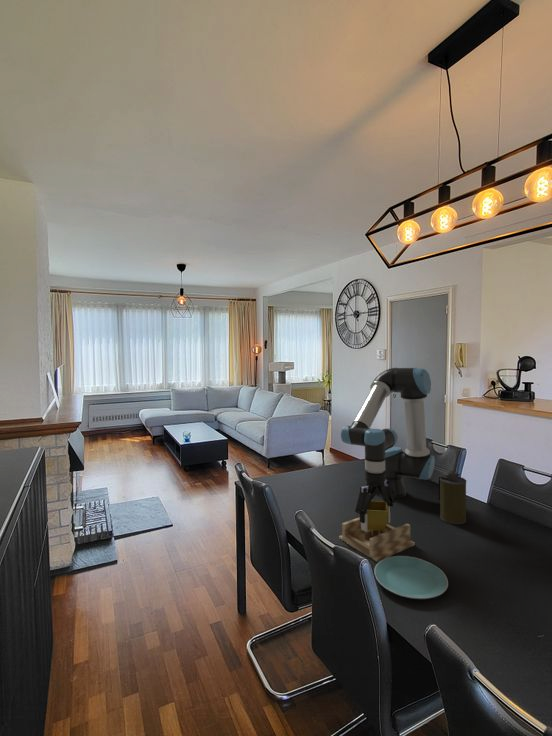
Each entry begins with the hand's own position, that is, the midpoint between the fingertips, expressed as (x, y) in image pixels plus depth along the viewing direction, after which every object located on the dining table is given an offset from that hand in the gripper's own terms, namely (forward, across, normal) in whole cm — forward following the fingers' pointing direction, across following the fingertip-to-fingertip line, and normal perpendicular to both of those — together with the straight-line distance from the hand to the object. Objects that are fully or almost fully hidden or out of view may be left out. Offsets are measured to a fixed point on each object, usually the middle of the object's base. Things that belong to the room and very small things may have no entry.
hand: (375, 525), depth 149 cm
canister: (+6, -41, +5) cm, 42 cm away
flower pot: (+1, 0, 0) cm, 1 cm away
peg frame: (+6, 0, 0) cm, 6 cm away
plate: (+7, +10, +24) cm, 27 cm away
